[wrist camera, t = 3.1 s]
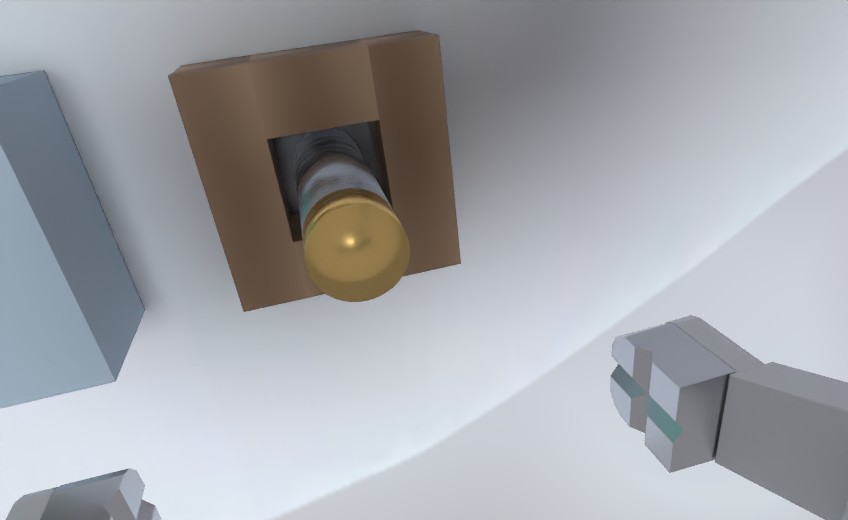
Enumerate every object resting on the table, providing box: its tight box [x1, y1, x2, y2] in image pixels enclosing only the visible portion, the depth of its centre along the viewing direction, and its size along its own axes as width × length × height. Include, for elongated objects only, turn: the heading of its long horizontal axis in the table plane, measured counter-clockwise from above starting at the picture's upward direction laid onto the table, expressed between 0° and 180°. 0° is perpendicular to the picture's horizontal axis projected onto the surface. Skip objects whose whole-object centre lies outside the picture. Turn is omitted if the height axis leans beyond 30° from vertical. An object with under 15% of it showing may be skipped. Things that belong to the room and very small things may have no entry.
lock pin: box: [294, 128, 410, 302], centre depth 19 cm, size 3×3×10 cm
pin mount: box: [168, 30, 461, 312], centre depth 21 cm, size 9×9×3 cm
